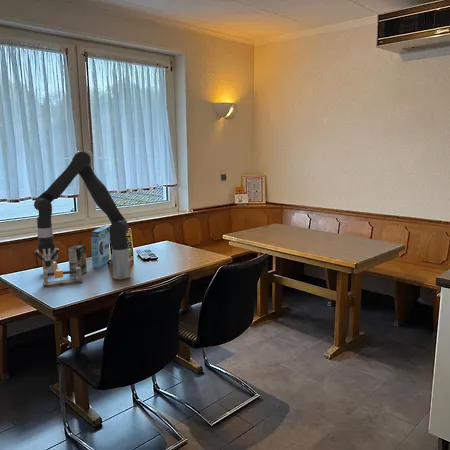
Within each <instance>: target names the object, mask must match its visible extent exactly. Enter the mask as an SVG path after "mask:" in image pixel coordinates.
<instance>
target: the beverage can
mask: <svg viewBox="0 0 450 450" xmlns="http://www.w3.org/2000/svg"><path fill="white" fill-rule="evenodd" d="M53 254H54V251H53V252H52V253H51V254H50V257H51V256H52V255H53ZM41 256H42V257H44V254H42V253H41ZM46 256H47V260H48V254H46ZM58 260H59V255H58V254H57V255H56V256H55V257H54V259H51V266H50V267H47V266H45V261H44V260H41V261H42V271H43V270H46V269H47V273H54V267H53V262H56V269H59V267H58Z"/></svg>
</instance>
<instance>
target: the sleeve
mask: <svg viewBox="0 0 450 450" xmlns="http://www.w3.org/2000/svg"><path fill="white" fill-rule="evenodd" d="M53 267H54V276H53V279H61V278H64V274H63V272H64V270H63V268H58V269H56V262H53Z"/></svg>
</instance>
